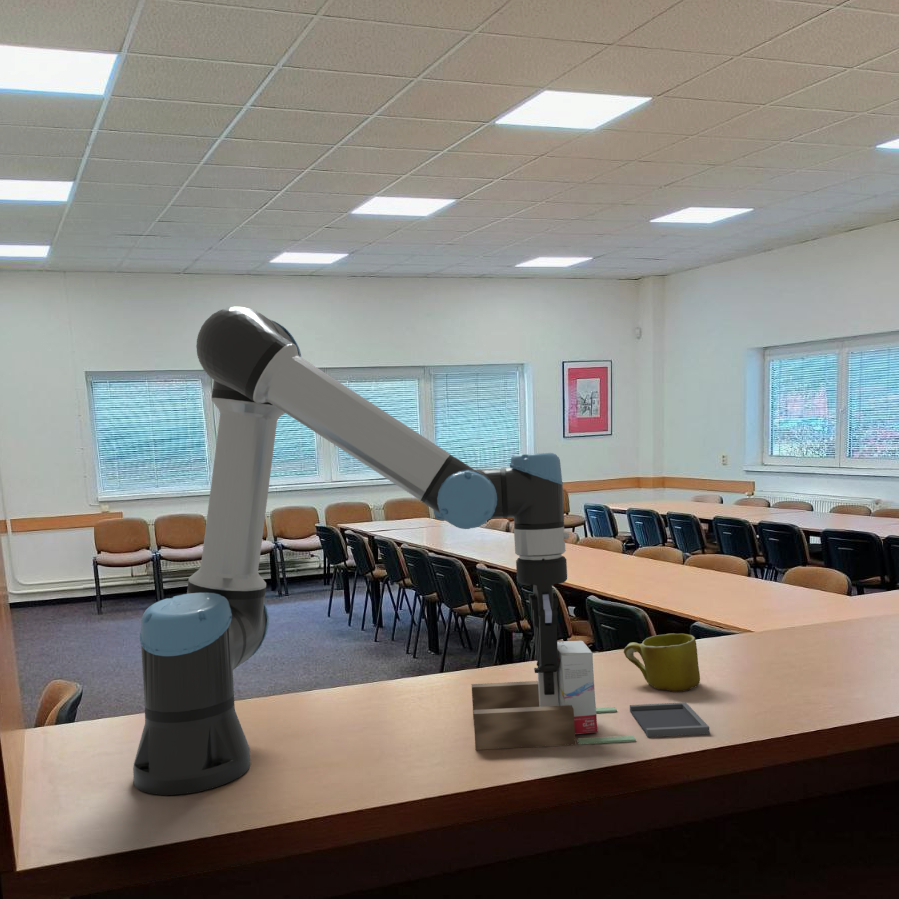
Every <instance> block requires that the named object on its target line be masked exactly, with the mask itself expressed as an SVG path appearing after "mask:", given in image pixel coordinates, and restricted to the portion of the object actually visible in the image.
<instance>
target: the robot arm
mask: <svg viewBox="0 0 899 899" xmlns="http://www.w3.org/2000/svg"><path fill="white" fill-rule="evenodd" d="M196 338H197V339H196V346H195V347H196V355H197V356H196V357H197V359H198V362H199V364H200V366H201V367H202V369H203V370H204V372H205V373H206V375H207V376H208V377H210V378H211V379H212V380H213V385H212V390H211V392H212V393H211V401H212V402H213V404H214V405H215V407H216V408H217V409H218V412H219V413H220V414H219V419H218V420H219V421H218V428H217V437H216V443H215V444H216V445H215V452H214V460H213V469H212V477H211V483H210V490H209V492H210V493H209V500H208V507H207V515H206V522H205V530H204V537H203V538H204V540H203V547H202V554H201V555H202V556H201V562H200V567H199V568H198V570H196V571H195V572H194V573H192V574H191V575H190V576H189V577H188V582H187V589H186V591H187V592H186V593H183V594H178V595H175V596H172V597H171V598H170V597H169V598H164V599H160V600H158V601H156V602H155V603H153V604H151V605H150V606H149V607H147V608H146V609H145V611H144V613H143V614H142V617H141V620H140V621H141V624H140V625H141V627H140V633H139V643H140V647H141V648H140V649H141V660H142V661H141V663H142V683H143V684H142V685H143V686H142V687H143V701H144V704H143V705H144V726H143V729H142V732H141V737H140V741H139V743H138V748H137V750H136V755H135V758H134V760H133V767H132V770H133V771H132V773H133V774H132V775H133V784H134V787H135V788H137V790H139V791H141V792H143V793H148V794H151V795H166V796H169V795H171V796H172V795H185V794H192V793H197V792H202V791H207V790H210V789H214V788H217V787H220V786H223V785H225V784H228V783H231V782H233V781H235V780H237V779H239V778H240V777H241V776H243V775H244V774H245V773H247V771H249V769H250V767H251V748H250V746H249V742H248V740H247V737H246V734H245V732H244V730H243V727H242V724H241V723H240V720H239V717H238V715H237V712H236V707H235V705H236V704H235V690H234V688H235V686H234V670H235V669H237V668H238V667H239V666H240V665H242V664H243V663H245V662H247V661H248V660H249V659H250V658H252V657H253V656H254V655H255V654H256V653H257V651H258V650H259V649H260V647H261V646H262V644H263V642H264V641H265V639H266V636H267V635H268V630H269V627H270V626H269V625H270V618H269V617H270V616H269V611H268V607H267V605H266V603H265V601H266V600H265V598H266V591H267V582H266V581H265V579H263V577H262V575H260V574H259V569H260V568H259V567H260V558H261V550H262V542H263V537H264V527H265V521H266V511H267V505H268V504H267V503H268V496H269V489H270V488H269V487H270V481H271V480H270V479H271V472H272V463H273V457H274V449H275V441H276V434H277V433H276V431H277V425H278V420H279V418H281V417H282V416H283V415H284V414H286V415H288V416H290V417H291V418H292V419H294V420H295V421H297V422H298V423H300V424H302V425H304V426H305V427H306V428H308V429H309V430H311V431H313V432H314V433H316V434H317V435H319V436H320V437H322V438H324V439H325V440H326V441H328V442H329V443H331V444H333V445H334V446H336V447H338V449H340V450H342V451H343V452H345V453H347V454H348V455H349V456H351V457H353V458H354V459H355V460H358V461H359V462H360V463H362V464H364V465H365V466H367V467H369V469H371V470H373V471H374V472H376V473H377V474H379V475H380V476H382V477H383V478H385V479H387V480H388V481H389V482H391V483H393V484H394V485H396V486H397V487H399V488H401V489H402V490H404V491H405V492H406V493H408V494H410V495H411V496H413V497H414V498H416V499H417V500H420V502H422V503H423V504H424V505H426V506H428V507H429V508H431V509H432V511H433V515H434V517H435V519H437V520H438V521H442V522H443V521H444V522H445V521H446V522H447V523H449V524H450V525H452V526H454V527H456V528H458V529H462V530H471V529H476V528H479V527H481V526H482V525H485V524H486V523H487V522H488V520H491V519H508V518H512V519H513V534H514V535H513V537H514V554H516V555H517V556H519V557H517V559H516V560H515V566H516V581H517V582H518V583H519V584H520V585H524V586H533V587H532V589H533V590H532V592H533V593H529V594H528V601H529V602H528V603H529V605H530V608H531V610H530V612H531V621H532V622H533V633H534V636H533V637H534V647H535V655H534V657H535V658H534V659H535V660H536V667H534V668H533V670H534V674H537V681H538V689H539V707H545V706H559V705H558V687H557V671H558V668H559V666H558V653H557V642H558V615H559V612H558V607H559V598H558V595H556V593H555V592H553V586H554V585H556V584H557V585H560V584H563V583H565V582H566V581H567V580H568V566H567V558H566V557H565V556H564V555H563V554H565V552H566V541H565V540H566V539H569V538H570V534H569V533H568V532H567V531H565V509H564V484H563V483H564V482H563V477H562V467H561V466H562V465H561V460H560V457H559V456H558V455H557V454H556V453H553V452H541V453H539V452H538V453H523V454H513V455H512V456H511V457H510V464H509V467H508V466H507V467H503V468H502V467H501V468H483V469H474V468H473V467H471V466H470V465H468V464H467V463H465V462H464V461H462V460H460V459H458V458H457V457H455V456H453V455H452V454H450V453H449V452H447V451H446V450H444V449H443V448H442V447H440V446H438V445H437V444H435V443H433V442H432V441H431V440H429V439H428V438H426V437H425V436H423V435H421V434H420V433H418V432H417V431H415V429H413V428H410V427H409V426H408V425H406V424H405V423H403V422H401V421H400V420H398V419H397V418H395V417H394V416H392V415H390V414H389V413H388V412H386V411H385V410H383V409H381V408H380V407H379V406H377V405H375V404H374V403H372V402H371V401H369V400H367V399H366V398H364V397H363V396H361V395H360V394H358V393H357V392H355V391H353V390H352V388H351V389H350V388H349V387H347V386H346V385H344V384H343V383H341V382H340V381H338V380H337V379H336V378H334V377H332V376H331V375H329V374H327V373H326V372H325V371H323V370H321V369H320V368H319V367H316V365H314V364H312V363H310V362H309V361H307V360H306V359H304V358H303V357H302V353H301V350H300V347H299V345H298V342H297V341H296V339H295V338H294V336H293V334H291V332H290V331H289V330H288V329H287V328H285V327H284V326H283V325H281V324H280V323H279V322H278V321H277V322H276V321H275V320H272V319H270V318H268V317H267V316H265V315H264V314H262V313H260V312H258V311H257V310H255V309H252V308H250V307H245V306H229V307H226V308H222V309H219V310H217V311H216V312H214V313H212V314H211V315H210V316H209V317H208V318H207V319H206V320H205V321H204V323H203V324H202V325H201V327H200V329H199V332H198V334H197V337H196Z"/></svg>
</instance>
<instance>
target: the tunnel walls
mask: <svg viewBox="0 0 899 899" xmlns="http://www.w3.org/2000/svg"><path fill="white" fill-rule="evenodd" d="M471 698H472V717H473V728H474V730H473V731H474V747H475V748H474V749H475V751H477V750H497V749H501V750H502V749H521V748H537V747H539V748H540V747H541V748H543V747H558V746H559V747H560V746H576V734H575V727H574V709H573V707H572V705H565V706H545V707H539V689H538V680H531V681H530V680H529V681H527V680H526V681H510V682H509V681H506V682H490V683H489V682H487V683H471Z"/></svg>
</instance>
